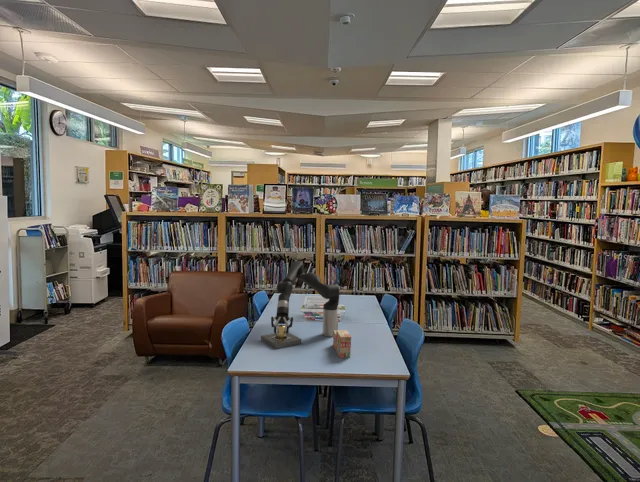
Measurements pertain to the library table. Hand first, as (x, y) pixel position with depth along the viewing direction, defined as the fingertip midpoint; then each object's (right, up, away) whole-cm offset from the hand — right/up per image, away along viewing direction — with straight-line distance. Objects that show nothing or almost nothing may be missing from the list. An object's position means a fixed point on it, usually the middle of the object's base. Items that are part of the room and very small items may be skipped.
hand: (281, 332), depth 248 cm
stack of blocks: (+36, -9, -10) cm, 38 cm away
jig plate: (0, -6, +2) cm, 7 cm away
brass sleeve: (0, -6, +2) cm, 7 cm away
